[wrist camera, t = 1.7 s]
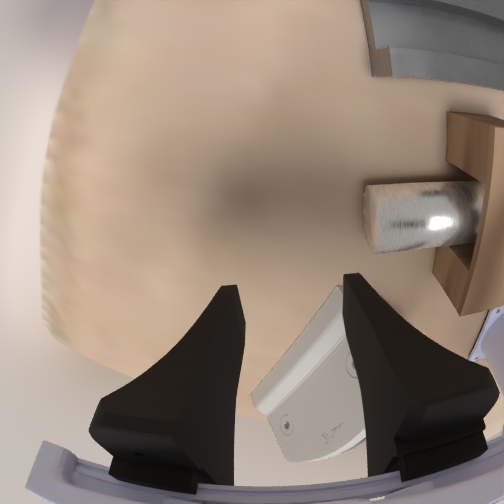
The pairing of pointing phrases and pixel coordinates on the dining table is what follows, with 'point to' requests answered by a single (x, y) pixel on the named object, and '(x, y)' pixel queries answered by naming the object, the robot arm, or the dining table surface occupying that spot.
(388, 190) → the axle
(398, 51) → the v block
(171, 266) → the dining table surface
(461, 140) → the beam
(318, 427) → the hinge
